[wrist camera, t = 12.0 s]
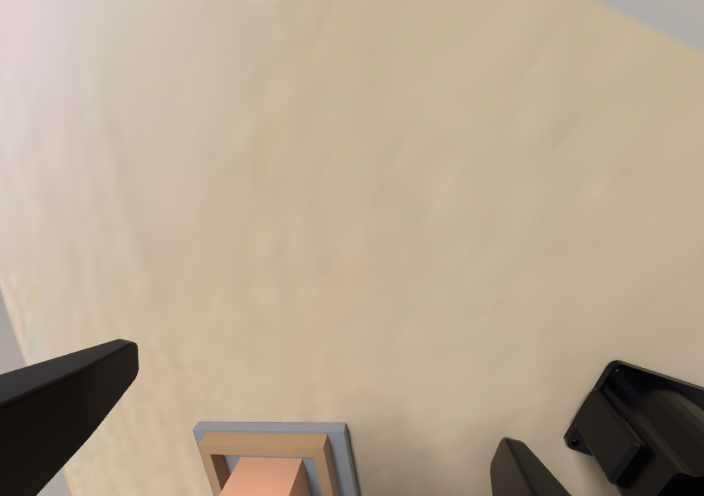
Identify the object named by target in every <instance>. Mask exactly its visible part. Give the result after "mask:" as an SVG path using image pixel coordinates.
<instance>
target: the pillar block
mask: <svg viewBox="0 0 704 496" xmlns="http://www.w3.org/2000/svg"><path fill="white" fill-rule="evenodd" d="M219 496H311V494H310V490H309V485H308V481H307V477H306V472H305V468H304V464H303V460H302V459H296V458H258V457H241V458H240V459H239V461H238V463H237V465H236V467H235V468H234V470H233V472H232V474H231V475H230V477H229V479H228V481H227V482H226V484H225V486H224V488H223V490H222V491H221V493H220V495H219Z"/></svg>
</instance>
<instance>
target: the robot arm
mask: <svg viewBox="0 0 704 496" xmlns="http://www.w3.org/2000/svg"><path fill="white" fill-rule="evenodd" d="M619 368H621V370H620V371H617V372H616V370H617V369H619ZM138 370H139V360H138V346H137V344H136V343H135V342H132V341H128V340H124V339H117V340H114V341H110V342H107V343H104V344H100V345H97V346H94V347H90V348H87V349H84V350H80V351H77V352H74V353H70V354H67V355H64V356H60V357H57V358H54V359H50V360H47V361H44V362H41V363H37V364H34V365H31V366H27V367H24V368H21V369H17V370H14V371H11V372H7V373H4V374H1V375H0V496H36V495H37V494H38V493H39V492H40V491H41V490H42V489H43V488H44V487H45V486H46V485H47V483H48V482H49V481H50V480H51V479H52V478H53V477H54V476H55V475H56V474H57V472H58V471H59V470H60V469H61V468H62V467H63V466H64V465H65V464H66V463H67V462H68V461H69V459H70V458H71V457H72V456H73V455H74V454H75V453H76V452H77V451H78V450H79V449H80V447H81V446H82V445H83V444H84V443H85V442H86V441H87V440H88V438H89V437H90V436H91V435H92V434H93V432H94V431H95V430H96V429H97V428H98V426H99V425H100V424H101V422H102V421H103V420H104V419H105V417H106V416H107V415H108V413H109V412H110V411H111V410H112V408H113V407H114V406H115V404H116V403H117V402H118V401H119V399H120V398H121V397H122V395H123V394H124V393H125V391H126V390H127V389H128V388H129V386H130V385H131V384H132V382H133V381H134V380H135V378H136V376H137V374H138ZM564 439H565V441H566V443H567V445H568V446H569V447H570V448H571V449H574V450H577V451H579V452H582V453H585V454H588V455H591V456H594V458H595V459H596V461H597V463H598V464H599V466H600V468H601V469H602V471H603V473H604V474H605V476H606V478H607V479H608V481H609V482H610V483H611V484H613V485H615V486H616V488H617V489H618V491H619V493H620V494H621V496H704V387H701V386H697V385H694V384H691V383H688V382H685V381H682V380H679V379H676V378H673V377H670V376H666V375H663V374H660V373H657V372H654V371H651V370H648V369H645V368H642V367H639V366H635V365H632V364H629V363H626V362H623V361H619V360H616V361H612V362H610V363H609V364H608V366H607V367H606V369H605V370H604V372H603V374H602V375H601V377H600V379H599V380H598V382H597V384H596V385H595V387H594V388H593V390H592V391H591V393H590V394H589V396H588V398H587V399H586V401H585V403H584V404H583V406H582V407H581V409H580V411H579V412H578V414H577V416H576V417H575V419H574V421H573V423H572V425H571V426H570V428H569V430H568V431H567V433H566V434H565V437H564ZM573 440H576V441H573ZM490 476H491V485H492V494H493V496H571V495H570V494H569V493H568V491H567V490H566V489H565V488H564V487H563V486H562V485H561V484H560V482H559V481H558V480H557V479H556V478H555V477H554V476H553V475H552V474H551V472H550V471H549V470H548V469H547V468H546V467H545V466H544V465H543V463H542V462H541V461H540V460H539V459H538V458H537V457H536V456H535V455H534V453H533V452H532V451H531V450H530V449H529V448H528V447H527V446H526V445H525V444H524V443H523V442H522V441H520V440H516V439H512V438H508V437H504V438H502V439H501V441H500V443H499V445H498V448H497V450H496V453H495V455H494V457H493V460H492V462H491V468H490Z"/></svg>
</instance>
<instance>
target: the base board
mask: <svg viewBox="0 0 704 496" xmlns="http://www.w3.org/2000/svg"><path fill="white" fill-rule="evenodd" d="M193 433H194V436H195V439H196V442H197V445H198V448H199V452H200V455H201V458H202V461H203V464H204V467H205V470H206V474H207V477H208V480H209V483H210V486H211V489H212V492H213V496H219V495H220V493H221V491H222V490H223V488H224V486H225V484H226V482H227V481H228V479H229V477H230V475H231V474H232V472H233V470H234V468H235V467H236V465H237V463H238V461H239V459H240V458H241V457H258V458H296V459H302V460H303V464H304V468H305V472H306V477H307V481H308V485H309V490H310V494H311V496H359V494H358V488H357V483H356V477H355V472H354V466H353V461H352V455H351V450H350V444H349V439H348V433H347V428H346V423H270V422H198V424H197V425H196V426H195V427H194V429H193Z"/></svg>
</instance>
